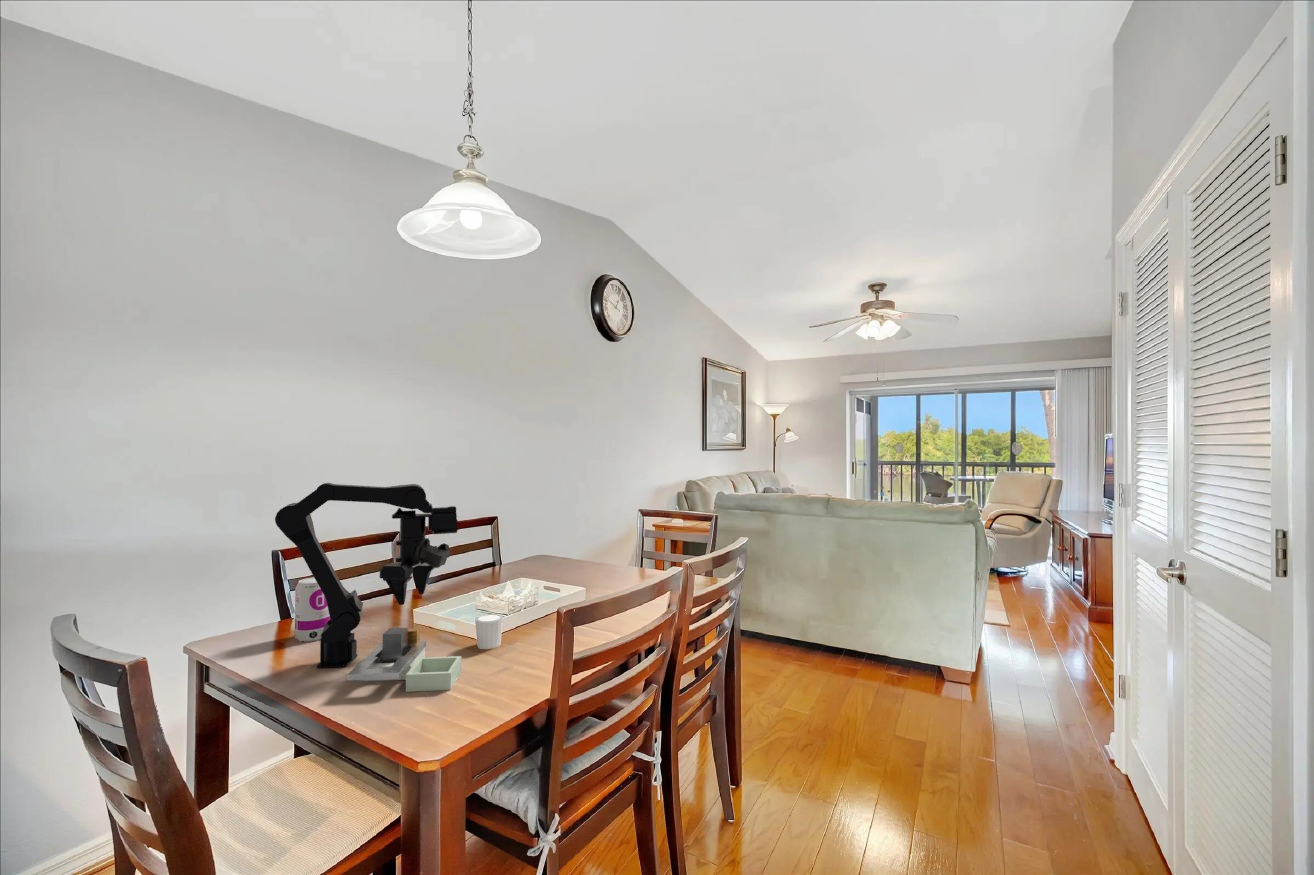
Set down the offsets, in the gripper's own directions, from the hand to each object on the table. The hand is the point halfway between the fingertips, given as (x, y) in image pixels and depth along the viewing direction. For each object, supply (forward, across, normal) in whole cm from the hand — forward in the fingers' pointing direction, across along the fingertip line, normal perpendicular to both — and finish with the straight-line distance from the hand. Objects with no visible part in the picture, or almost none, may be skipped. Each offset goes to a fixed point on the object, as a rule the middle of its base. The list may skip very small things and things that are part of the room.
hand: (411, 599), depth 135 cm
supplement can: (+13, +7, +31) cm, 34 cm away
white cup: (+13, +6, -17) cm, 23 cm away
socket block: (+13, -11, -2) cm, 17 cm away
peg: (+13, -11, -2) cm, 17 cm away
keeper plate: (+10, -14, -3) cm, 17 cm away
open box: (+13, -15, -14) cm, 24 cm away
